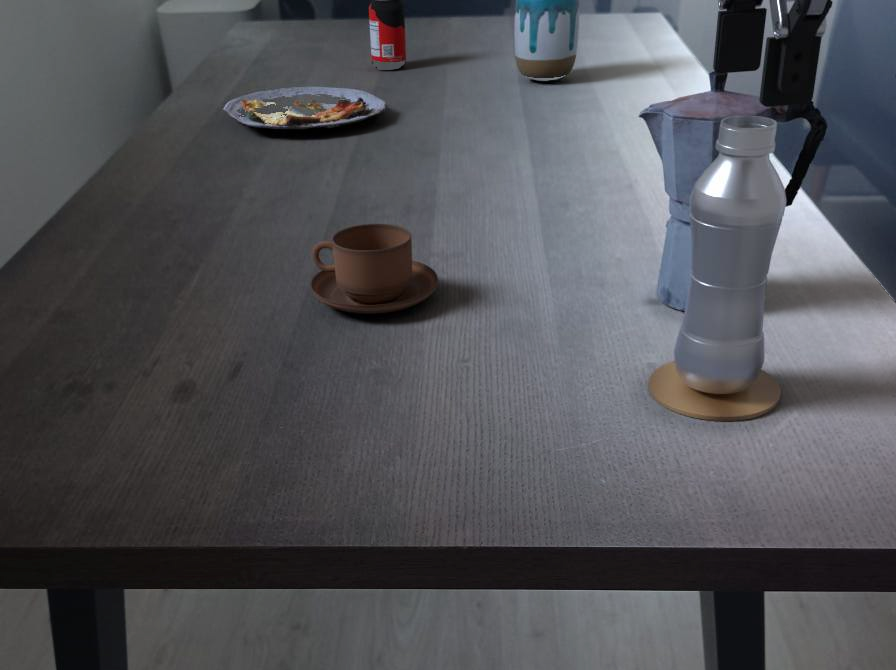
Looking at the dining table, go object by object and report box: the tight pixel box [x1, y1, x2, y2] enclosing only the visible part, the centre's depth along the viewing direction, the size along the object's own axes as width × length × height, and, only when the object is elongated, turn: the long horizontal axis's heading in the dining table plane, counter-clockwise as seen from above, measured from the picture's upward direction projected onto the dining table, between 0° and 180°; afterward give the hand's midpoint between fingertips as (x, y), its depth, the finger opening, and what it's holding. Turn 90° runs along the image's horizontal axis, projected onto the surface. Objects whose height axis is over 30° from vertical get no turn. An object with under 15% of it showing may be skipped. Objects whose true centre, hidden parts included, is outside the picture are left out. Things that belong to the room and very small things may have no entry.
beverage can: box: [368, 0, 407, 62], centre depth 187 cm, size 6×6×12 cm
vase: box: [513, 0, 580, 83], centre depth 171 cm, size 11×11×19 cm
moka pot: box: [637, 71, 828, 312], centre depth 91 cm, size 10×15×20 cm, turn 78°
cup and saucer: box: [310, 223, 439, 315], centre depth 97 cm, size 12×12×6 cm
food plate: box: [222, 86, 388, 130], centre depth 158 cm, size 25×23×4 cm
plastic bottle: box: [673, 116, 787, 394], centre depth 76 cm, size 6×7×20 cm
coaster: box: [648, 360, 782, 422], centre depth 81 cm, size 10×10×1 cm
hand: (759, 86), depth 69 cm, fingers open, 9 cm apart
